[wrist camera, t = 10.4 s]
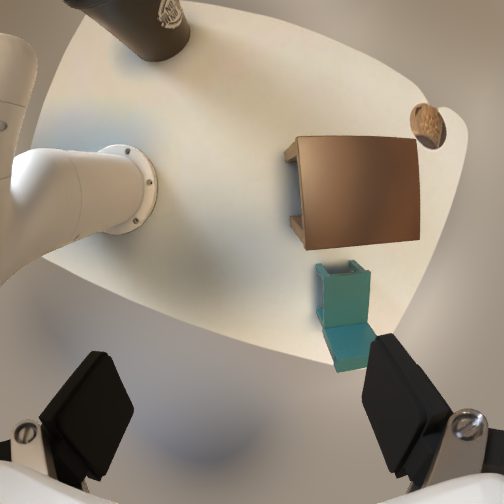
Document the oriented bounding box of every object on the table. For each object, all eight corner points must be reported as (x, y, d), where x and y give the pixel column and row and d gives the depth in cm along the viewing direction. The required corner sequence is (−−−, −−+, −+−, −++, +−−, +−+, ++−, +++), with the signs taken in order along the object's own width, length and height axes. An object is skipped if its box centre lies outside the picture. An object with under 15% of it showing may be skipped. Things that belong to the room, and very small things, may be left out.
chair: (353, 312, 39) (386, 363, 26) (315, 317, 39) (336, 372, 27) (355, 258, 37) (397, 295, 24) (314, 262, 37) (341, 303, 24)
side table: (289, 227, 36) (306, 250, 24) (283, 150, 33) (296, 136, 22) (374, 221, 35) (419, 240, 24) (370, 148, 33) (416, 138, 21)
